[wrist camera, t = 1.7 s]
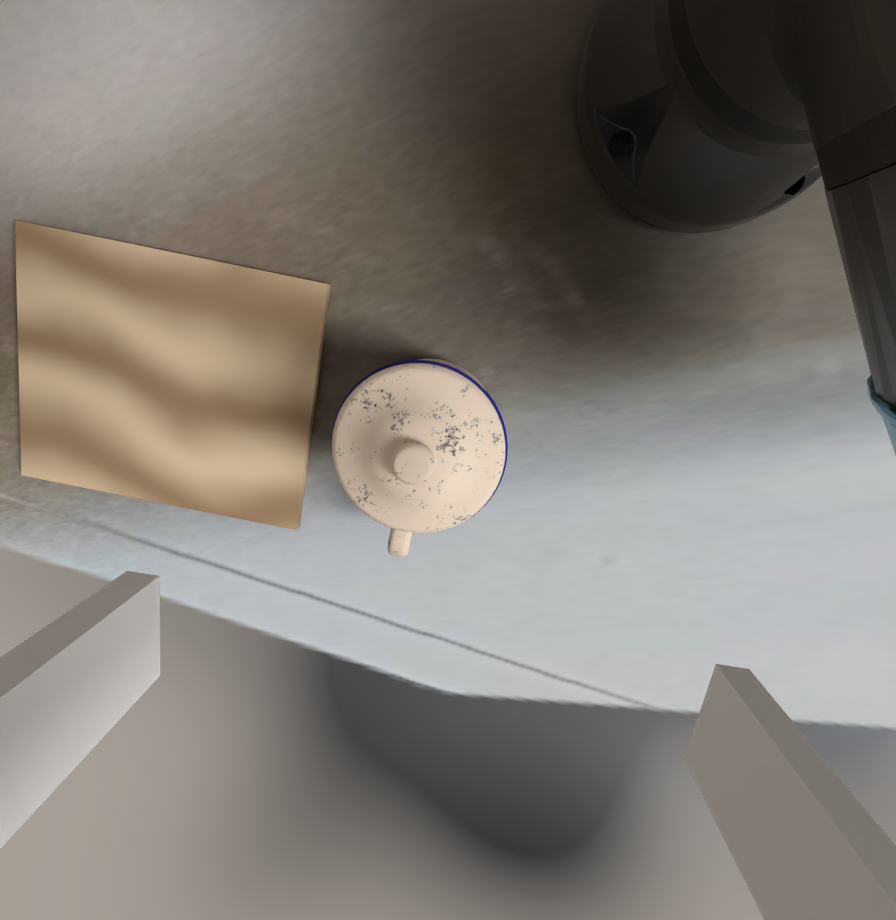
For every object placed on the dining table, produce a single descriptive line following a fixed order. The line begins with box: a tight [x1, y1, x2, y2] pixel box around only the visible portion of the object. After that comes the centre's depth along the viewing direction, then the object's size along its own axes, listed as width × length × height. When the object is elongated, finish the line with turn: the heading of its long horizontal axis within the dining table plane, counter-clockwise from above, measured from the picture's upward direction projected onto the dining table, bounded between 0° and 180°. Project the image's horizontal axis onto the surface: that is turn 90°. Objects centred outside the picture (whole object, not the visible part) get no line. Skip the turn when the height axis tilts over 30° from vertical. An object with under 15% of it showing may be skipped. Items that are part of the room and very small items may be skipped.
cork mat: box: [15, 220, 331, 530], centre depth 33 cm, size 17×20×1 cm
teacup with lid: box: [331, 359, 507, 557], centre depth 28 cm, size 12×9×12 cm
